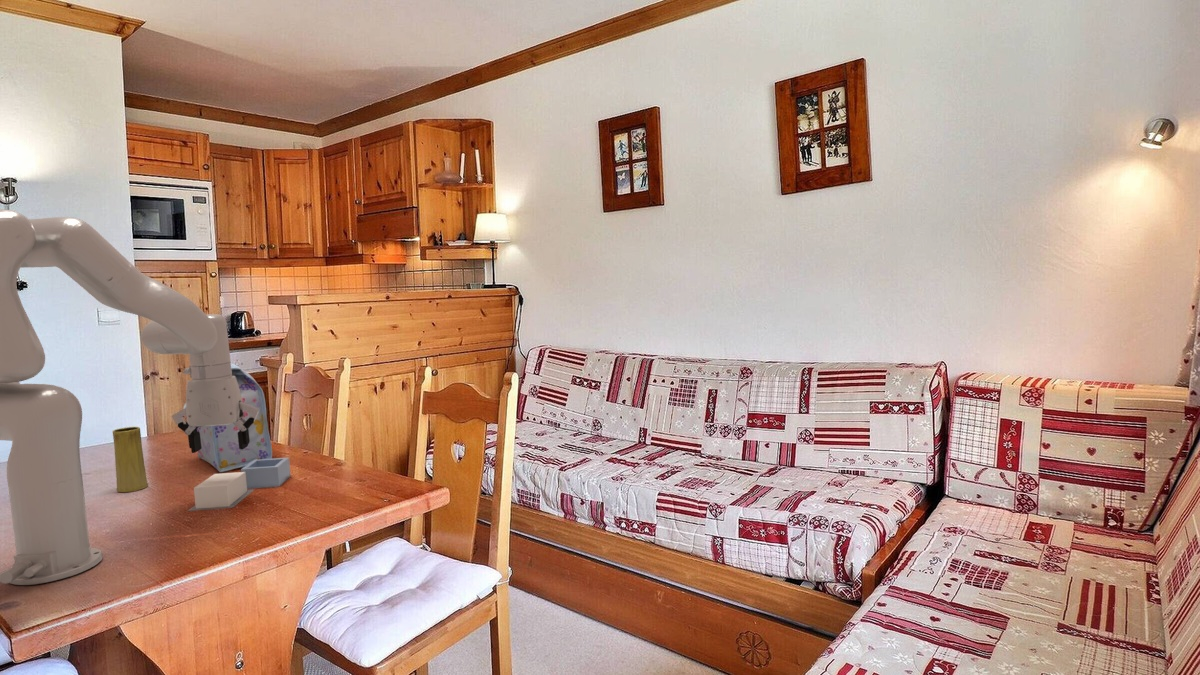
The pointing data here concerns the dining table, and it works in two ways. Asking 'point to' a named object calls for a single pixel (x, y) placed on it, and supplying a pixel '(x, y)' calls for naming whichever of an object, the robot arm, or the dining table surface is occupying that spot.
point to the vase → (129, 460)
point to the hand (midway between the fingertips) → (220, 449)
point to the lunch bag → (223, 439)
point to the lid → (220, 490)
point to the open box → (267, 472)
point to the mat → (227, 506)
